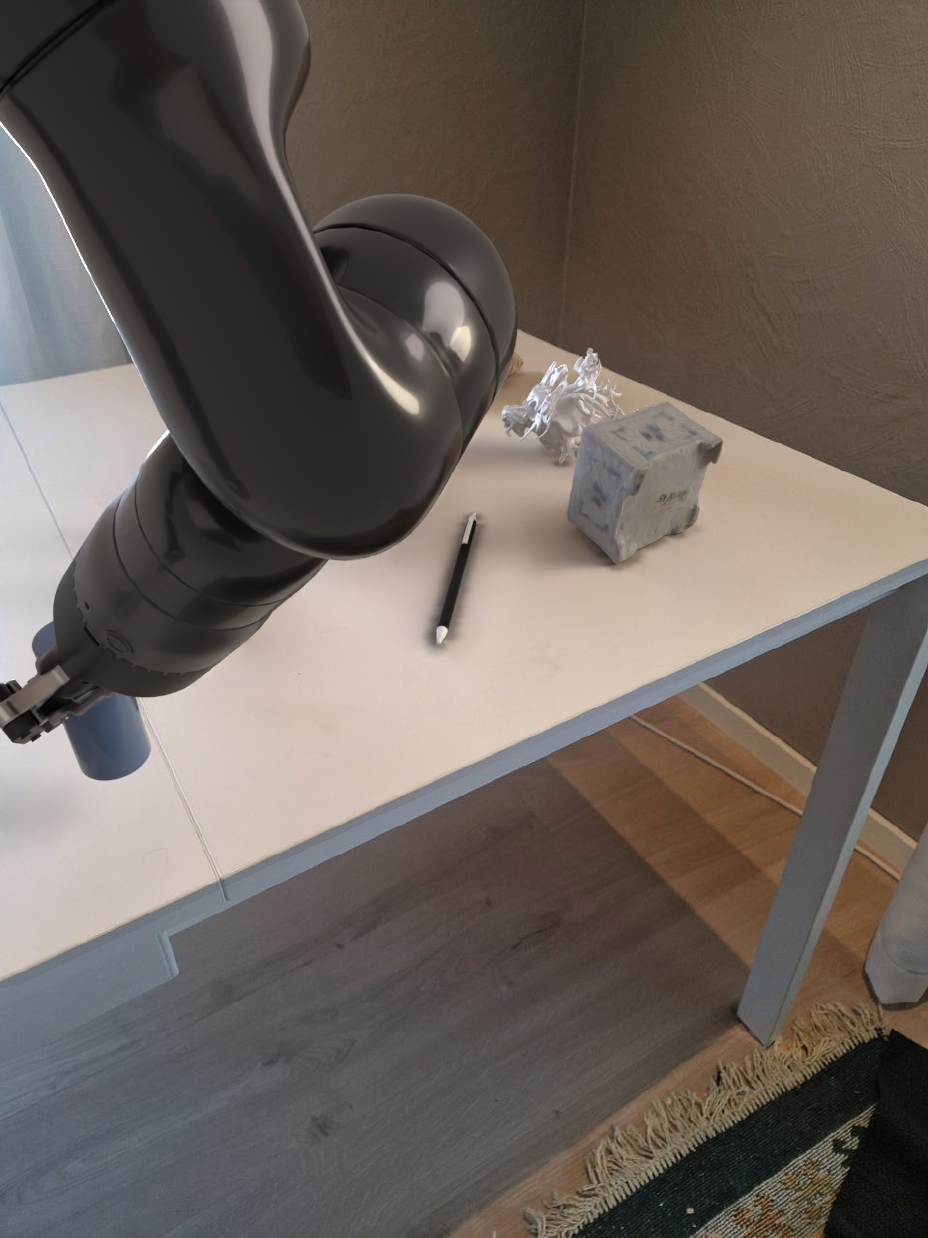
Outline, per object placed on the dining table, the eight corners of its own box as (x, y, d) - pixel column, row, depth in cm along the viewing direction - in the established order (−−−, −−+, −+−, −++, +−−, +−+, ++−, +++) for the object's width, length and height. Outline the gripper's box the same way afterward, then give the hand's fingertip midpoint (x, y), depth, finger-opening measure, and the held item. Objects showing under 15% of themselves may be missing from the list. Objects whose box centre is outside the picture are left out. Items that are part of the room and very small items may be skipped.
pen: (479, 518, 79) (478, 507, 78) (444, 649, 64) (443, 638, 64) (469, 518, 79) (469, 507, 79) (432, 648, 64) (431, 637, 64)
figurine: (499, 398, 94) (560, 308, 87) (610, 468, 97) (677, 386, 91) (491, 451, 84) (559, 353, 77) (616, 526, 87) (691, 439, 81)
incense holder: (625, 572, 72) (638, 460, 66) (562, 529, 77) (569, 421, 71) (709, 537, 76) (729, 427, 70) (644, 498, 82) (657, 393, 75)
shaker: (83, 790, 48) (33, 668, 43) (76, 744, 51) (28, 624, 46) (156, 767, 50) (117, 645, 44) (145, 723, 53) (107, 604, 47)
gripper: (241, 447, 40) (135, 579, 53) (-49, 595, 31) (-93, 712, 44) (338, 577, 41) (211, 676, 54) (83, 758, 32) (3, 826, 45)
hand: (75, 691), depth 49 cm, fingers closed on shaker, 4 cm apart
